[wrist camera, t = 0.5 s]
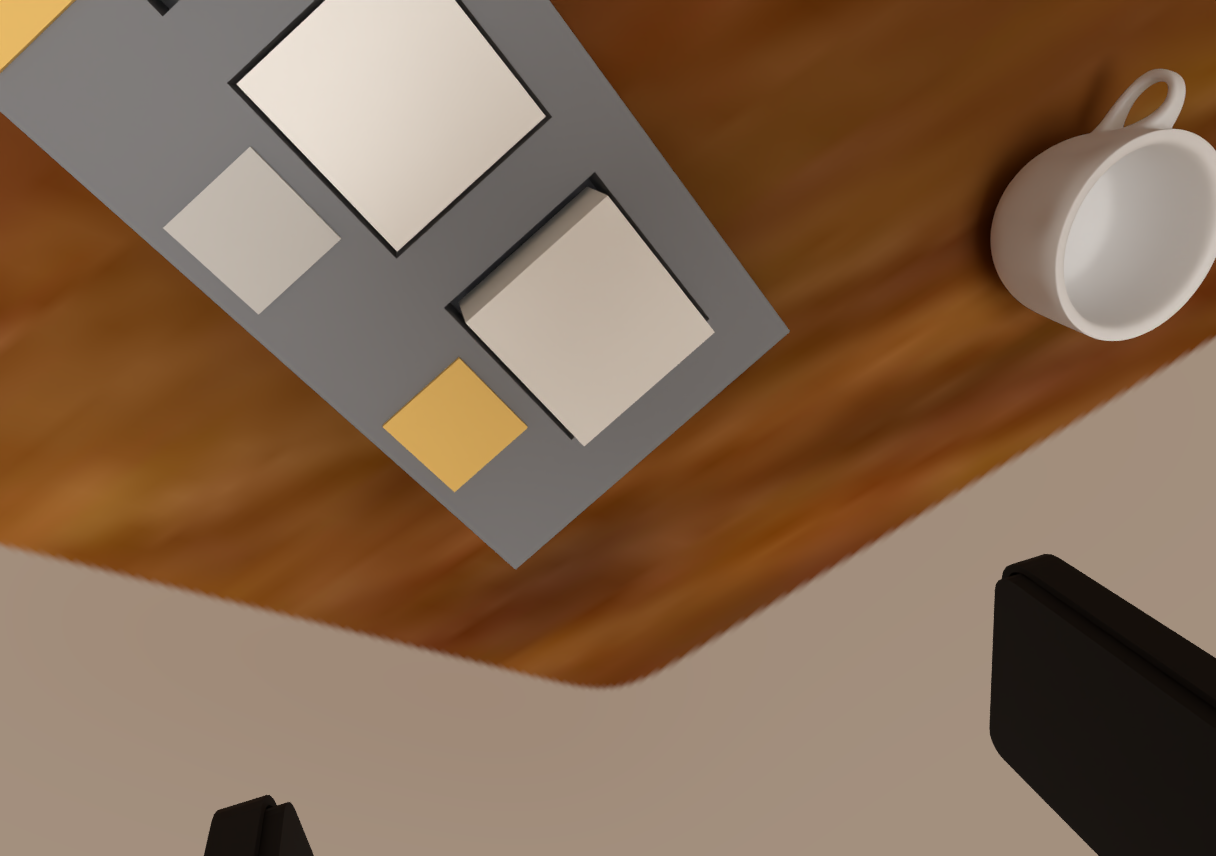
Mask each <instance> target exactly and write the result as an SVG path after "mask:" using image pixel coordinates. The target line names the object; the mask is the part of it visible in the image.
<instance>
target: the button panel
mask: <svg viewBox="0 0 1216 856" xmlns="http://www.w3.org/2000/svg"><path fill="white" fill-rule="evenodd" d="M324 1H325V0H0V112H2V113H3V114H4V115H5V116H6V117H7V118H8V119H9V120H11V121H12V122H13V123H14V124H15V125H16V126H17V127H18V128H20V129H21V130H22V131H23V132H24V133H25V134H26V135H27V136H29V137H30V138H31V139H32V140H33V141H34V142H35V143H36V144H38V145H39V146H40V147H41V148H42V149H43V150H44V151H45V152H46V153H48V154H49V155H50V156H51V157H52V158H53V159H54V160H55V161H57V162H58V163H59V164H60V165H61V166H62V167H63V168H64V169H66V170H67V171H68V172H69V173H70V174H71V175H72V176H73V177H75V178H76V179H77V180H78V181H79V182H80V183H81V184H82V185H84V186H85V187H86V188H87V189H88V190H89V191H90V192H91V193H93V194H94V195H95V196H96V197H97V198H98V199H99V200H100V201H102V202H103V203H104V204H105V205H106V206H107V207H108V208H109V209H111V210H112V211H113V212H114V213H115V214H116V215H117V216H118V217H120V218H121V219H122V220H123V221H124V222H125V223H126V224H127V225H129V226H130V227H131V228H132V229H133V230H134V231H135V232H136V233H138V234H139V235H140V236H141V237H142V238H143V239H144V240H145V241H147V242H148V243H149V244H150V245H151V246H152V247H153V248H154V249H156V250H157V251H158V252H159V253H160V254H161V255H162V256H163V257H165V258H166V259H167V260H168V261H169V262H170V263H171V264H172V265H174V266H175V267H176V268H177V269H178V270H179V271H180V272H181V273H183V274H184V275H185V276H186V277H187V278H188V279H189V280H190V281H192V282H193V283H194V284H195V285H196V286H197V287H198V288H199V289H201V290H202V291H203V292H204V293H205V294H206V295H207V296H208V297H210V298H211V299H212V300H213V301H214V302H215V303H216V304H217V305H219V306H220V307H221V308H222V309H223V310H224V311H225V312H226V313H228V314H229V315H230V316H231V317H232V318H233V319H234V320H235V321H237V322H238V323H239V324H240V325H241V326H242V327H243V328H244V329H246V330H247V331H248V332H249V333H250V334H251V335H252V336H253V337H255V338H256V339H257V340H258V341H259V342H260V343H261V344H262V345H264V346H265V347H266V348H267V349H268V350H269V351H270V352H271V353H273V354H274V355H275V356H276V357H277V358H278V359H279V360H280V361H282V362H283V363H284V364H285V365H286V366H287V367H288V368H289V369H291V370H292V371H293V372H294V373H295V374H296V375H297V376H298V377H300V378H301V379H302V380H303V381H304V382H305V383H306V384H307V385H309V386H310V387H311V388H312V389H313V390H314V391H315V392H316V393H318V394H319V395H320V396H321V397H322V398H323V399H324V400H325V401H327V402H328V403H329V404H330V405H331V406H332V407H333V408H334V409H336V410H337V411H338V412H339V413H340V414H341V415H342V416H343V417H345V418H346V419H347V420H348V421H349V422H350V423H351V424H352V425H354V426H355V427H356V428H357V429H358V430H359V431H360V432H361V433H363V434H364V435H365V436H366V437H367V438H368V439H369V440H370V441H372V442H373V443H374V444H375V445H376V446H377V447H378V448H379V449H381V450H382V451H383V452H384V453H385V454H386V455H387V456H388V457H390V458H391V459H392V460H393V461H394V462H395V463H396V464H397V465H399V466H400V467H401V468H402V469H403V470H404V471H405V472H406V473H408V474H409V475H410V476H411V477H412V478H413V479H414V480H415V481H417V482H418V483H419V484H420V485H421V486H422V487H423V488H424V489H426V490H427V491H428V492H429V493H430V494H431V495H432V496H433V497H435V498H436V499H437V500H438V501H439V502H440V503H441V504H442V505H444V506H445V507H446V508H447V509H448V510H449V511H450V512H451V513H453V514H454V515H455V516H456V517H457V518H458V519H459V520H460V521H462V522H463V523H464V524H465V525H466V526H467V527H468V528H469V529H471V530H472V531H473V532H474V533H475V534H476V535H477V536H478V537H480V538H481V539H482V540H483V541H484V542H485V543H486V544H487V545H489V546H490V547H491V548H492V549H493V550H494V551H495V552H496V553H498V554H499V555H500V556H501V557H502V558H503V559H504V560H505V561H507V562H508V563H509V564H510V565H511V566H512V567H513V568H514V569H517V568H518V567H519V566H520V565H521V564H523V563H524V562H525V561H526V560H527V559H528V558H529V557H531V556H532V555H533V554H534V553H535V552H536V551H538V550H539V549H540V548H541V547H542V546H543V545H544V544H546V543H547V542H548V541H549V540H550V539H551V538H553V537H554V536H555V535H556V534H557V533H558V532H559V531H561V530H562V529H563V528H564V527H565V526H566V525H568V524H569V523H570V522H571V521H572V520H573V519H574V518H576V517H577V516H578V515H579V514H580V513H581V512H582V511H584V510H585V509H586V508H587V507H588V506H589V505H591V504H592V503H593V502H594V501H595V500H596V499H597V498H599V497H600V496H601V495H602V494H603V493H604V492H606V491H607V490H608V489H609V488H610V487H611V486H612V485H614V484H615V483H616V482H617V481H618V480H619V479H621V478H622V477H623V476H624V475H625V474H626V473H627V472H629V471H630V470H631V469H632V468H633V467H634V466H636V465H637V464H638V463H639V462H640V461H641V460H642V459H644V458H645V457H646V456H647V455H648V454H649V453H651V452H652V451H653V450H654V449H655V448H656V447H657V446H659V445H660V444H661V443H662V442H663V441H664V440H665V439H667V438H668V437H669V436H670V435H671V434H672V433H674V432H675V431H676V430H677V429H678V428H679V427H680V426H682V425H683V424H684V423H685V422H686V421H687V420H689V419H690V418H691V417H692V416H693V415H694V414H695V413H697V412H698V411H699V410H700V409H701V408H702V407H704V406H705V405H706V404H707V403H708V402H709V401H710V400H712V399H713V398H714V397H715V396H716V395H717V394H719V393H720V392H721V391H722V390H723V389H724V388H725V387H727V386H728V385H729V384H730V383H731V382H732V381H734V380H735V379H736V378H737V377H738V376H739V375H740V374H742V373H743V372H744V371H745V370H746V369H747V368H748V367H750V366H751V365H752V364H753V363H754V362H755V361H757V360H758V359H759V358H760V357H761V356H762V355H763V354H765V353H766V352H767V351H768V350H769V349H770V348H772V347H773V346H774V345H775V344H776V343H777V342H778V341H780V340H781V339H782V338H783V337H784V336H785V335H787V334H788V333H789V332H790V331H789V329H788V328H787V327H786V325H785V324H784V322H783V321H782V320H781V318H780V317H779V316H778V314H777V313H776V311H775V310H774V309H773V307H772V306H771V305H770V303H769V302H768V300H767V299H766V298H765V296H764V295H763V294H762V292H761V291H760V289H759V288H758V287H757V285H756V284H755V283H754V281H753V280H752V278H751V277H750V276H749V274H748V273H747V272H746V270H745V269H744V267H743V266H742V265H741V263H740V262H739V261H738V259H737V258H736V256H735V255H734V254H733V252H732V251H731V250H730V248H729V247H728V245H727V244H726V243H725V241H724V240H723V239H722V237H721V236H720V234H719V233H718V232H717V230H716V229H715V228H714V226H713V225H712V223H711V222H710V221H709V219H708V218H707V217H706V215H705V214H704V212H703V211H702V210H701V208H700V207H699V206H698V204H697V203H696V201H695V200H694V199H693V197H692V196H691V195H690V193H689V192H688V190H687V189H686V188H685V186H684V185H683V184H682V182H681V181H680V179H679V178H678V177H677V175H676V174H675V173H674V171H673V170H672V168H671V167H670V166H669V164H668V163H667V162H666V160H665V159H664V157H663V156H662V155H661V153H660V152H659V151H658V149H657V148H656V146H655V145H654V144H653V142H652V141H651V140H650V138H649V137H648V135H647V134H646V133H645V131H644V130H643V129H642V127H641V126H640V124H639V123H638V122H637V120H636V119H635V118H634V116H633V115H632V113H631V112H630V111H629V109H628V108H627V107H626V105H625V104H624V102H623V101H622V100H621V98H620V97H619V96H618V94H617V93H616V91H615V90H614V89H613V87H612V86H611V85H610V83H609V82H608V80H607V79H606V78H605V76H604V75H603V74H602V72H601V71H600V69H599V68H598V67H597V65H596V64H595V63H594V61H593V60H592V58H591V57H590V56H589V54H588V53H587V52H586V50H585V49H584V47H583V46H582V45H581V43H580V42H579V41H578V39H577V38H576V36H575V35H574V34H573V32H572V31H571V30H570V28H569V27H568V25H567V24H566V23H565V21H564V20H563V19H562V17H561V16H560V14H559V13H558V12H557V10H556V9H555V8H554V6H553V5H552V3H551V2H550V1H549V0H455V1H456V2H457V4H458V5H459V6H460V7H461V9H462V10H463V11H464V12H465V14H466V15H467V16H468V18H469V19H470V20H471V21H472V23H473V24H474V25H475V27H476V28H477V29H478V30H479V32H480V33H481V34H482V35H483V37H484V38H485V39H486V41H487V42H488V43H489V44H490V46H491V47H492V48H493V50H494V51H495V52H496V53H497V55H498V56H499V57H500V58H501V60H502V61H503V62H504V64H505V65H506V66H507V67H508V69H509V70H510V71H511V73H512V74H513V75H514V76H515V78H516V79H517V80H518V81H519V83H520V84H521V85H522V87H523V88H524V89H525V90H526V92H527V93H528V94H529V96H530V97H531V98H532V99H533V101H534V102H535V103H536V104H537V106H538V107H539V108H540V110H541V111H542V112H543V113H544V115H545V116H546V117H545V118H544V119H542V120H541V121H540V122H539V123H538V124H537V125H536V126H535V127H534V128H533V129H531V130H530V131H529V132H528V133H527V134H526V135H525V136H524V137H523V138H522V139H520V140H519V141H518V142H517V143H516V144H515V145H514V146H513V147H512V148H511V149H509V150H508V151H507V152H506V153H505V154H504V155H503V156H502V157H501V158H500V159H498V160H497V161H496V162H495V163H494V164H493V165H492V166H491V167H490V168H489V169H487V170H486V171H485V172H484V173H483V174H482V175H481V176H480V177H479V178H478V179H476V180H475V181H474V182H473V183H472V184H471V185H470V186H469V187H468V188H467V189H465V190H464V191H463V192H462V193H461V194H460V195H459V196H458V197H457V198H456V199H455V200H453V201H452V202H451V203H450V204H449V205H448V206H447V207H446V208H445V209H444V210H442V211H441V212H440V213H439V214H438V215H437V216H436V217H435V218H434V219H433V220H431V221H430V222H429V223H428V224H427V225H426V226H425V227H424V228H423V229H422V230H420V231H419V232H418V233H417V234H416V235H415V236H414V237H413V238H412V239H411V240H409V241H408V242H407V243H406V244H405V245H404V246H403V247H402V248H401V249H400V250H398V251H396V250H395V249H394V248H393V247H392V246H391V245H390V244H389V243H388V242H387V240H386V239H385V238H384V237H383V236H382V235H381V234H380V233H379V232H378V231H377V230H376V229H375V228H374V227H373V226H372V225H371V224H370V223H369V222H368V221H367V220H366V219H365V218H364V217H363V215H362V214H361V213H360V212H359V211H358V210H357V209H356V208H355V207H354V206H353V205H352V204H351V203H350V202H349V201H348V200H347V199H346V198H345V197H344V196H343V195H342V194H341V193H340V191H339V190H338V189H337V188H336V187H335V186H334V185H333V184H332V183H331V182H330V181H329V180H328V179H327V178H326V177H325V176H324V175H323V174H322V173H321V172H320V171H319V170H318V169H317V168H316V166H315V165H314V164H313V163H312V162H311V161H310V160H309V159H308V158H307V157H306V156H305V155H304V154H303V153H302V152H301V151H300V150H299V149H298V148H297V147H296V146H295V145H294V144H293V143H292V141H291V140H290V139H289V138H288V137H287V136H286V135H285V134H284V133H283V132H282V131H281V130H280V129H279V128H278V127H277V126H276V125H275V124H274V123H273V122H272V121H271V120H270V119H269V117H268V116H267V115H266V114H265V113H264V112H263V111H262V110H261V109H260V108H259V107H258V106H257V105H256V104H255V103H254V102H253V101H252V100H251V99H250V98H249V97H248V96H247V95H246V94H245V92H244V91H243V90H242V89H241V88H240V87H239V86H238V85H237V83H238V82H239V81H240V80H241V79H242V78H243V77H244V76H246V75H247V74H248V73H249V72H250V71H251V70H252V69H253V68H254V67H255V66H256V65H257V64H258V63H259V62H260V61H261V60H262V59H264V58H265V57H266V56H267V55H268V54H269V53H270V52H271V51H272V50H273V49H274V48H275V47H276V46H277V45H278V44H279V43H281V42H282V41H283V40H284V39H285V38H286V37H287V36H288V35H289V34H290V33H291V32H292V31H293V30H294V29H295V28H296V27H297V26H299V25H300V24H301V23H302V22H303V21H304V20H305V19H306V18H307V17H308V16H309V15H310V14H311V13H312V12H313V11H314V10H316V9H317V8H318V7H319V6H320V5H321V4H322V3H323V2H324ZM586 187H589V188H592V189H594V190H596V191H599V192H601V193H603V194H605V195H608V196H609V198H610V199H611V200H612V202H613V203H614V204H615V205H616V207H617V208H618V209H619V210H620V212H621V213H622V214H623V216H624V217H625V218H626V219H627V221H628V222H629V223H630V225H631V226H632V227H633V228H634V230H635V231H636V232H637V233H638V235H639V236H640V237H641V239H642V240H643V241H644V242H645V244H646V245H647V246H648V247H649V249H650V250H651V251H652V253H653V254H654V255H655V256H656V258H657V259H658V260H659V262H660V263H661V264H662V265H663V267H664V268H665V269H666V270H667V272H668V273H669V274H670V276H671V277H672V278H673V279H674V281H675V282H676V283H677V285H678V286H679V287H680V288H681V290H682V291H683V292H684V293H685V295H686V296H687V297H688V299H689V300H690V301H691V302H692V304H693V305H694V306H695V308H696V309H697V310H698V311H699V313H700V314H701V315H702V316H703V318H704V319H705V320H706V322H707V323H708V324H709V325H710V327H711V328H712V329H713V331H714V332H715V333H713V334H712V335H711V336H710V337H709V338H708V339H707V340H705V341H704V342H703V343H702V344H701V345H700V346H699V347H697V348H696V349H695V350H694V351H693V352H692V353H691V354H689V355H688V356H687V357H686V358H685V359H684V360H683V361H681V362H680V363H679V364H678V365H677V366H676V367H675V368H673V369H672V370H671V371H670V372H669V373H668V374H667V375H665V376H664V377H663V378H662V379H661V380H660V381H659V382H657V383H656V384H655V385H654V386H653V387H652V388H651V389H649V390H648V391H647V392H646V393H645V394H644V395H643V396H641V397H640V398H639V399H638V400H637V401H636V402H635V403H633V404H632V405H631V406H630V407H629V408H628V409H626V410H625V411H624V412H623V413H622V414H621V415H620V416H618V417H617V418H616V419H615V420H614V421H613V422H612V423H610V424H609V425H608V426H607V427H606V428H605V429H604V430H602V431H601V432H600V433H599V434H598V435H597V436H596V437H594V438H593V439H592V440H591V441H590V442H589V443H588V444H586V445H585V446H583V445H582V444H581V443H580V442H579V441H578V440H577V439H576V438H575V436H574V435H573V434H572V433H571V432H570V431H569V430H568V429H567V428H566V427H565V426H564V425H563V424H562V423H561V422H560V421H559V420H558V419H557V418H556V417H555V416H554V415H553V414H552V413H551V411H550V410H549V409H548V408H547V407H546V406H545V405H544V404H543V403H542V402H541V401H540V400H539V399H538V398H537V397H536V396H535V395H534V394H533V393H532V392H531V391H530V390H529V389H528V387H527V386H526V385H525V384H524V383H523V382H522V381H521V380H520V379H519V378H518V377H517V376H516V375H515V374H514V373H513V372H512V371H511V370H510V369H509V368H508V367H507V366H506V365H505V364H504V362H503V361H502V360H501V359H500V358H499V357H498V356H497V355H496V354H495V353H494V352H493V351H492V350H491V349H490V348H489V347H488V346H487V345H486V344H485V343H484V342H483V341H482V340H481V338H480V337H479V336H478V335H477V334H476V333H475V332H474V331H473V330H472V329H471V328H470V327H469V326H468V325H467V324H466V323H465V320H464V317H463V314H462V311H461V308H460V305H459V301H460V300H461V299H462V298H463V297H465V296H466V295H467V294H468V293H469V292H470V291H471V290H472V289H473V288H475V287H476V286H477V285H478V284H479V283H480V282H481V281H482V280H483V279H485V278H486V277H487V276H488V275H489V274H490V273H491V272H492V271H493V270H495V269H496V268H497V267H498V266H499V265H500V264H501V263H502V262H503V261H505V260H506V259H507V258H508V257H509V256H510V255H511V254H512V253H513V252H515V251H516V250H517V249H518V248H519V247H520V246H521V245H522V244H523V243H525V242H526V241H527V240H528V239H529V238H530V237H531V236H532V235H534V234H535V233H536V232H537V231H538V230H539V229H540V228H541V227H542V226H544V225H545V224H546V223H547V222H548V221H549V220H550V219H551V218H552V217H554V216H555V215H556V214H557V213H558V212H559V211H560V210H561V209H562V208H564V207H565V206H566V205H567V204H568V203H569V202H570V201H571V200H572V199H574V198H575V197H576V196H577V195H578V194H579V193H580V192H581V191H582V190H584V189H585V188H586Z"/></svg>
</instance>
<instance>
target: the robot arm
mask: <svg viewBox="0 0 1216 856" xmlns="http://www.w3.org/2000/svg"><path fill="white" fill-rule="evenodd" d="M992 654H993V655H992V678H991V704H990V736H991V739H992V742H993V744H994V746H995V748H996V750H997V751H998V753H999V754H1000V756H1001V757H1002V758H1003V759H1004V760H1005V761H1006V762H1007V763H1008V764H1009V765H1010V766H1011V767H1012V768H1013V769H1014V770H1015V771H1016V772H1017V773H1018V774H1019V775H1020V776H1021V777H1022V778H1023V779H1024V781H1025V782H1026V783H1027V784H1029V786H1030V787H1031V788H1032V789H1033V790H1034V791H1035V792H1036V793H1038V795H1039V796H1040V797H1041V798H1042V799H1043V800H1044V801H1045V802H1046V803H1047V804H1048V805H1049V806H1050V807H1051V808H1052V809H1053V810H1054V811H1055V812H1056V813H1057V814H1058V815H1059V816H1060V817H1061V818H1062V819H1063V820H1064V821H1065V822H1066V823H1067V824H1068V825H1069V826H1070V827H1071V828H1072V829H1073V830H1074V831H1075V832H1076V833H1077V834H1078V835H1079V836H1080V837H1081V838H1082V839H1083V840H1084V841H1085V842H1086V843H1087V844H1088V845H1089V846H1090V847H1091V848H1092V849H1093V850H1094V851H1095V852H1096V853H1097V854H1098V856H1216V658H1214V657H1213V656H1211V655H1210V654H1208V653H1207V652H1205V651H1204V650H1202V649H1201V648H1199V647H1197V646H1196V645H1194V644H1193V643H1191V642H1190V641H1188V640H1186V639H1185V638H1183V637H1182V636H1180V635H1179V634H1177V633H1176V632H1174V631H1172V630H1171V629H1169V628H1167V627H1166V626H1164V625H1163V624H1161V623H1160V622H1158V621H1157V620H1155V619H1154V618H1152V617H1151V616H1149V615H1147V614H1146V613H1144V612H1143V611H1141V610H1140V609H1138V608H1136V607H1135V606H1133V605H1132V604H1130V603H1128V602H1127V601H1125V600H1124V599H1122V598H1121V597H1119V596H1118V595H1116V594H1114V593H1113V592H1111V591H1110V590H1108V589H1107V588H1105V587H1104V586H1102V585H1100V584H1099V583H1097V582H1096V581H1094V580H1093V579H1091V578H1090V577H1088V576H1086V575H1085V574H1083V573H1082V572H1080V571H1079V570H1077V569H1075V568H1074V567H1072V566H1071V565H1069V564H1068V563H1066V562H1064V561H1063V560H1061V559H1060V558H1058V557H1056V556H1054V555H1051V554H1043V555H1040V556H1037V557H1034V558H1031V559H1028V560H1024V561H1021V562H1018V563H1015V564H1012V565H1009V566H1007V567H1006V568H1005V570H1004V571H1003V575H1002V579H1001V580H999V581H998V582H997V584H996V587H995V604H994V629H993V653H992ZM204 856H314V855H313V853H312V850H311V848H310V845H309V843H308V840H307V838H306V835H305V833H304V831H303V828H302V825H301V823H300V820H299V818H298V816H297V813H296V811H295V809H294V807H293V805H292V804H291V803H290V802H287V803H284V804H281V805H276V803H275V801H274V799H273V798H272V797H271V796H270V795H265V796H262V797H259V798H256V799H252V800H249V801H246V802H243V803H239V804H237V805H233V806H230V807H227V808H223V809H220V810H218V811H217V812H216V813H215V814H214V817H213V819H212V822H211V827H210V831H209V836H208V840H207V844H206V849H205V853H204Z"/></svg>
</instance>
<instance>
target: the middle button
mask: <svg viewBox="0 0 1216 856" xmlns="http://www.w3.org/2000/svg"><path fill="white" fill-rule="evenodd" d="M237 85H238V86H239V87H240V88H241V89H242V90H243V91H244V92H245V94H246V95H247V96H248V97H249V98H250V99H251V100H252V101H253V102H254V103H255V104H256V105H257V106H258V107H259V108H260V109H261V110H262V111H263V112H264V113H265V114H266V115H267V116H268V117H269V119H270V120H271V121H272V122H273V123H274V124H275V125H276V126H277V127H278V128H279V129H280V130H281V131H282V132H283V133H284V134H285V135H286V136H287V137H288V138H289V139H290V140H291V141H292V143H293V144H294V145H295V146H296V147H297V148H298V149H299V150H300V151H301V152H302V153H303V154H304V155H305V156H306V157H307V158H308V159H309V160H310V161H311V162H312V163H313V164H314V165H315V166H316V168H317V169H318V170H319V171H320V172H321V173H322V174H323V175H324V176H325V177H326V178H327V179H328V180H329V181H330V182H331V183H332V184H333V185H334V186H335V187H336V188H337V189H338V190H339V191H340V193H341V194H342V195H343V196H344V197H345V198H346V199H347V200H348V201H349V202H350V203H351V204H352V205H353V206H354V207H355V208H356V209H357V210H358V211H359V212H360V213H361V214H362V215H363V217H364V218H365V219H366V220H367V221H368V222H369V223H370V224H371V225H372V226H373V227H374V228H375V229H376V230H377V231H378V232H379V233H380V234H381V235H382V236H383V237H384V238H385V239H386V240H387V242H388V243H389V244H390V245H391V246H392V247H393V248H394V249H395V250H396V251H398V250H400V249H401V248H402V247H403V246H404V245H405V244H406V243H407V242H408V241H409V240H411V239H412V238H413V237H414V236H415V235H416V234H417V233H418V232H419V231H420V230H422V229H423V228H424V227H425V226H426V225H427V224H428V223H429V222H430V221H431V220H433V219H434V218H435V217H436V216H437V215H438V214H439V213H440V212H441V211H442V210H444V209H445V208H446V207H447V206H448V205H449V204H450V203H451V202H452V201H453V200H455V199H456V198H457V197H458V196H459V195H460V194H461V193H462V192H463V191H464V190H465V189H467V188H468V187H469V186H470V185H471V184H472V183H473V182H474V181H475V180H476V179H478V178H479V177H480V176H481V175H482V174H483V173H484V172H485V171H486V170H487V169H489V168H490V167H491V166H492V165H493V164H494V163H495V162H496V161H497V160H498V159H500V158H501V157H502V156H503V155H504V154H505V153H506V152H507V151H508V150H509V149H511V148H512V147H513V146H514V145H515V144H516V143H517V142H518V141H519V140H520V139H522V138H523V137H524V136H525V135H526V134H527V133H528V132H529V131H530V130H531V129H533V128H534V127H535V126H536V125H537V124H538V123H539V122H540V121H541V120H542V119H544V118H545V117H546V116H545V115H544V113H543V112H542V111H541V110H540V108H539V107H538V106H537V104H536V103H535V102H534V101H533V99H532V98H531V97H530V96H529V94H528V93H527V92H526V90H525V89H524V88H523V87H522V85H521V84H520V83H519V81H518V80H517V79H516V78H515V76H514V75H513V74H512V73H511V71H510V70H509V69H508V67H507V66H506V65H505V64H504V62H503V61H502V60H501V58H500V57H499V56H498V55H497V53H496V52H495V51H494V50H493V48H492V47H491V46H490V44H489V43H488V42H487V41H486V39H485V38H484V37H483V35H482V34H481V33H480V32H479V30H478V29H477V28H476V27H475V25H474V24H473V23H472V21H471V20H470V19H469V18H468V16H467V15H466V14H465V12H464V11H463V10H462V9H461V7H460V6H459V5H458V4H457V2H456V1H455V0H325V1H324V2H323V3H322V4H321V5H320V6H319V7H318V8H317V9H316V10H314V11H313V12H312V13H311V14H310V15H309V16H308V17H307V18H306V19H305V20H304V21H303V22H302V23H301V24H300V25H299V26H297V27H296V28H295V29H294V30H293V31H292V32H291V33H290V34H289V35H288V36H287V37H286V38H285V39H284V40H283V41H282V42H281V43H279V44H278V45H277V46H276V47H275V48H274V49H273V50H272V51H271V52H270V53H269V54H268V55H267V56H266V57H265V58H264V59H262V60H261V61H260V62H259V63H258V64H257V65H256V66H255V67H254V68H253V69H252V70H251V71H250V72H249V73H248V74H247V75H246V76H244V77H243V78H242V79H241V80H240V81H239V82H238V83H237Z"/></svg>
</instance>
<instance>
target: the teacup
mask: <svg viewBox="0 0 1216 856" xmlns="http://www.w3.org/2000/svg"><path fill="white" fill-rule="evenodd" d="M1161 81H1164V82H1166V83H1167V85H1168V94H1167V97H1166V99H1165V101H1164V102H1163V104H1162V105H1161V106H1160V107H1159V108H1158V109H1157V110H1156V111H1154V112H1153V113H1152V114H1150V115H1149V116H1147V117H1145V118H1144V119H1142V120H1140V121H1138V122H1136V123H1134V124H1132V125H1129V126H1127V127H1124V128H1123V126H1124V123H1125V120H1126V117H1127V115H1128V113H1129V110H1130V109H1131V107H1132V105H1133V103H1134V102H1135V100H1136V99H1137V98H1138V97H1139V95H1140V94H1141V93H1142V92H1143V91H1144V90H1146V89H1147V88H1148V87H1149V86H1151V85H1152V84H1154V83H1157V82H1161ZM1185 91H1186V88H1185V83H1184V80H1183V78H1182V77H1181V76H1180V75H1179V74H1177V73H1176V72H1173V71H1170V70H1167V69H1154V70H1151V71H1148V72H1146V73H1145V74H1143V75H1142V76H1140V77H1139V78H1138V79H1137V80H1135V81H1134V82H1133V83H1132V84H1131V85H1130V86H1129V87H1128V88H1127V89H1126V90H1125V92H1124V93H1123V94H1122V95H1121V96H1120V97H1119V99H1118V100H1117V101H1116V102H1115V104H1114V105H1113V106H1112V108H1111V109H1110V110H1109V112H1108V113H1107V114H1106V116H1105V117H1104V118H1103V120H1102V121H1101V122H1100V124H1099V125H1098V126H1097V127H1096V128H1095V129H1094V130H1093V131H1092V132H1091V133H1089V134H1084V135H1080V136H1076V137H1073V138H1070V139H1067V140H1065V141H1062V142H1060V143H1058V144H1056V145H1054V146H1052V147H1050V148H1049V149H1047V150H1045V151H1044V152H1042V153H1041V154H1039V155H1038V156H1036V157H1035V158H1033V159H1032V160H1031V161H1030V162H1029V163H1027V164H1026V165H1025V166H1024V167H1023V168H1022V169H1021V170H1020V171H1019V172H1018V173H1017V175H1016V176H1015V177H1014V178H1013V179H1012V181H1011V182H1010V183H1009V185H1008V186H1007V188H1006V189H1005V191H1004V193H1003V195H1002V197H1001V199H1000V201H999V203H998V205H997V208H996V211H995V214H994V217H993V221H992V227H991V238H990V242H991V253H992V258H993V262H994V266H995V268H996V271H997V273H998V275H999V277H1000V279H1001V281H1002V282H1003V284H1004V286H1005V287H1006V288H1007V290H1008V291H1009V292H1010V293H1011V294H1012V296H1013V297H1014V298H1015V299H1017V300H1018V301H1019V302H1020V303H1021V304H1023V305H1024V306H1026V307H1027V308H1029V309H1031V310H1032V311H1034V312H1036V313H1038V314H1040V315H1042V316H1044V317H1047V318H1049V319H1051V320H1053V321H1055V322H1058V323H1060V324H1062V325H1065V326H1067V327H1069V328H1071V329H1074V330H1076V331H1078V332H1081V333H1083V334H1085V335H1088V336H1090V337H1093V338H1096V339H1099V340H1105V341H1120V340H1126V339H1130V338H1134V337H1137V336H1140V335H1142V334H1145V333H1147V332H1149V331H1151V330H1153V329H1154V328H1156V327H1158V326H1159V325H1161V324H1162V323H1164V322H1165V321H1166V320H1168V319H1169V318H1170V317H1171V316H1173V315H1174V314H1175V313H1176V312H1177V311H1178V310H1179V309H1180V308H1181V307H1182V306H1183V305H1184V304H1185V303H1186V302H1187V301H1188V300H1189V299H1190V297H1191V296H1192V295H1193V294H1194V292H1195V291H1196V290H1197V289H1198V287H1199V286H1200V284H1201V283H1202V281H1203V280H1204V278H1205V277H1206V275H1207V273H1208V271H1209V270H1210V268H1211V266H1212V264H1213V262H1214V260H1215V258H1216V151H1215V150H1214V148H1213V147H1212V146H1211V145H1210V144H1209V143H1208V142H1207V141H1206V140H1204V139H1203V138H1202V137H1200V136H1198V135H1196V134H1194V133H1192V132H1189V131H1185V130H1180V129H1172V127H1173V125H1174V123H1175V121H1176V119H1177V117H1178V115H1179V113H1180V111H1181V109H1182V106H1183V103H1184V99H1185Z"/></svg>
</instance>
